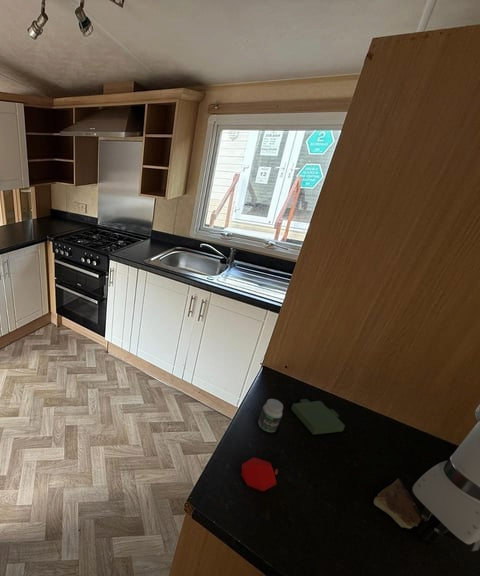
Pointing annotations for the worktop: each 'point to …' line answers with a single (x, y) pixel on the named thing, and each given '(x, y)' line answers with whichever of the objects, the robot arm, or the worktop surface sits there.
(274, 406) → the pill bottle
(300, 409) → the rubber pad
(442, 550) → the worktop surface
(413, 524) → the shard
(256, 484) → the apple
